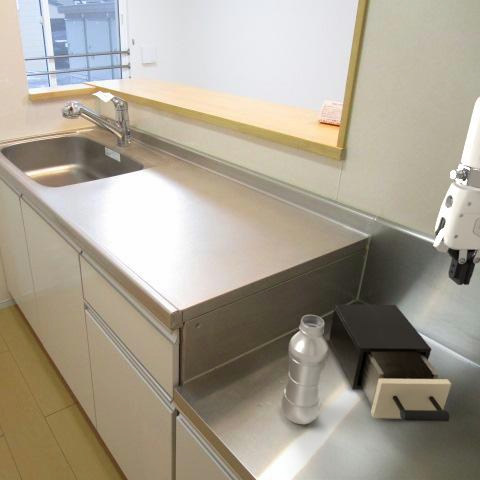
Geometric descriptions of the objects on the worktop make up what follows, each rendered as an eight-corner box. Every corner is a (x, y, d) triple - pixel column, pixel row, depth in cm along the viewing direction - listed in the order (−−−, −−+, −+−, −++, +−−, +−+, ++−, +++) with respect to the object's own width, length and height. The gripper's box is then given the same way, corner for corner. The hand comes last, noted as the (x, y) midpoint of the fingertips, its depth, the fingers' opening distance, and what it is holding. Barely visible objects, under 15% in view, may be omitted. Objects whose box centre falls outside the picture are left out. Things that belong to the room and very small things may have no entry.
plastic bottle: (321, 409, 81) (338, 316, 73) (312, 435, 76) (329, 338, 68) (286, 396, 84) (298, 305, 76) (275, 420, 79) (286, 326, 71)
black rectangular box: (419, 389, 85) (431, 348, 81) (352, 389, 86) (360, 348, 82) (386, 342, 98) (395, 304, 94) (328, 341, 99) (334, 304, 95)
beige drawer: (456, 442, 73) (468, 405, 70) (384, 441, 74) (394, 404, 70) (404, 366, 90) (412, 334, 87) (346, 366, 90) (352, 334, 87)
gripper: (451, 185, 66) (425, 293, 73) (555, 182, 65) (518, 291, 73) (424, 171, 73) (403, 271, 80) (518, 168, 72) (488, 269, 80)
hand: (458, 280), depth 77 cm, fingers closed
